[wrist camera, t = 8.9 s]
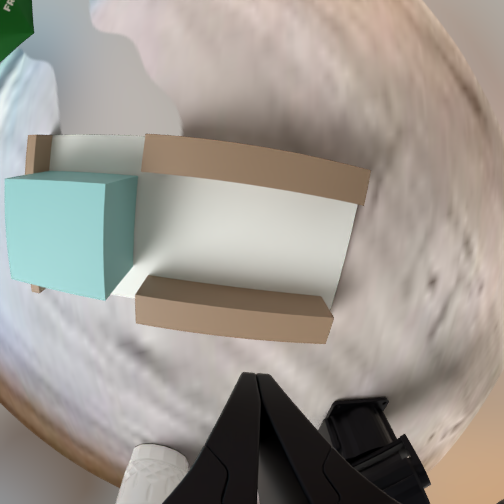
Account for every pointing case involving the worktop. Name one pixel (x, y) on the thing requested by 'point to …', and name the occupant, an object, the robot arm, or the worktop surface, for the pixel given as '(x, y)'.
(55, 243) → the block
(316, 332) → the chute
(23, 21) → the milk carton
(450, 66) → the worktop surface
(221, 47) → the worktop surface
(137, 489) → the white cup
